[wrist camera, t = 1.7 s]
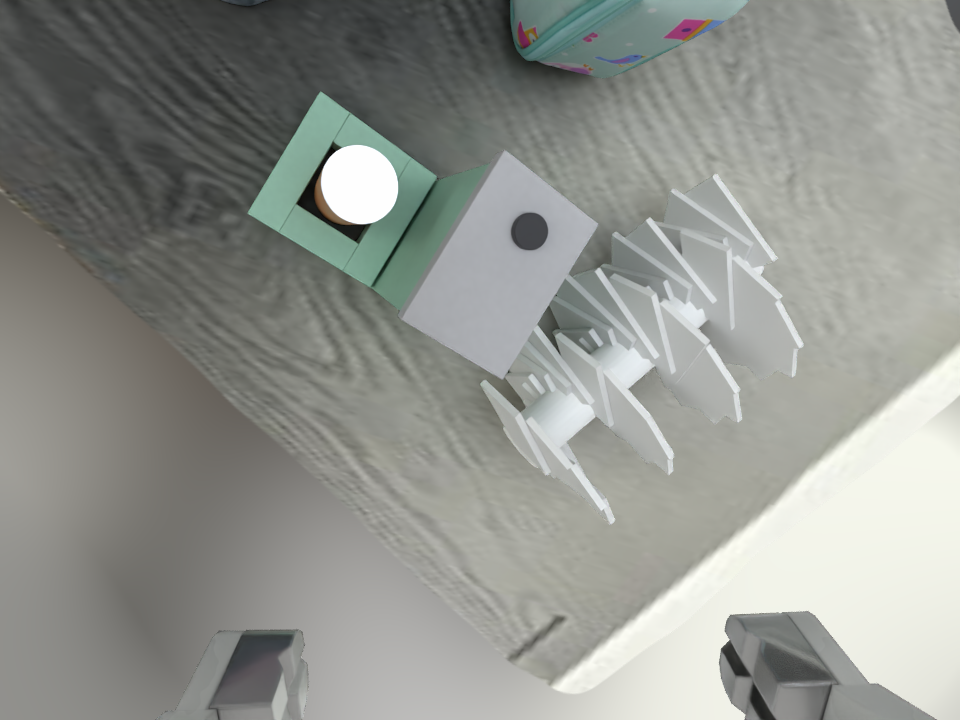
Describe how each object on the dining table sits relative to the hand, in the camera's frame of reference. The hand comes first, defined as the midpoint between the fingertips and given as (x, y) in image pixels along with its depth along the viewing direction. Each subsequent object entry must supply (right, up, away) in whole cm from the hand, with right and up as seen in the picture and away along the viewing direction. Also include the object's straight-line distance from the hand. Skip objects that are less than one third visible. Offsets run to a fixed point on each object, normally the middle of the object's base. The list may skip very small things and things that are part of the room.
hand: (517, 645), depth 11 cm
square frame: (-11, +18, +33) cm, 40 cm away
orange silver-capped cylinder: (-11, +18, +33) cm, 40 cm away
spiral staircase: (+9, +8, +43) cm, 45 cm away
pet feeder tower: (-5, +14, +36) cm, 39 cm away
